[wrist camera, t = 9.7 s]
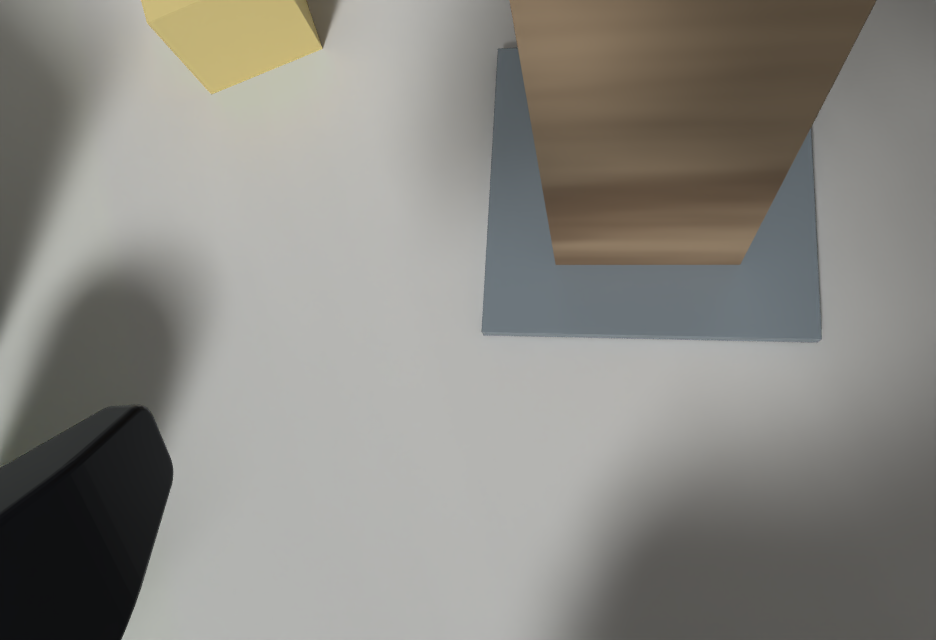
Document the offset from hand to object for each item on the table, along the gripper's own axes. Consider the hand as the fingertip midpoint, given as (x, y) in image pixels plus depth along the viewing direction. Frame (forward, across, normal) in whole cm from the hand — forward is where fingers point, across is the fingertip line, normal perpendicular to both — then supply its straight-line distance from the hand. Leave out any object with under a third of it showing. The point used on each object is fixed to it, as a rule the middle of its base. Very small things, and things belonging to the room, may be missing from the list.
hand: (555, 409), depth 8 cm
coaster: (+16, -2, +4) cm, 16 cm away
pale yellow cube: (+21, +10, -1) cm, 23 cm away
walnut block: (+15, -2, +4) cm, 16 cm away
